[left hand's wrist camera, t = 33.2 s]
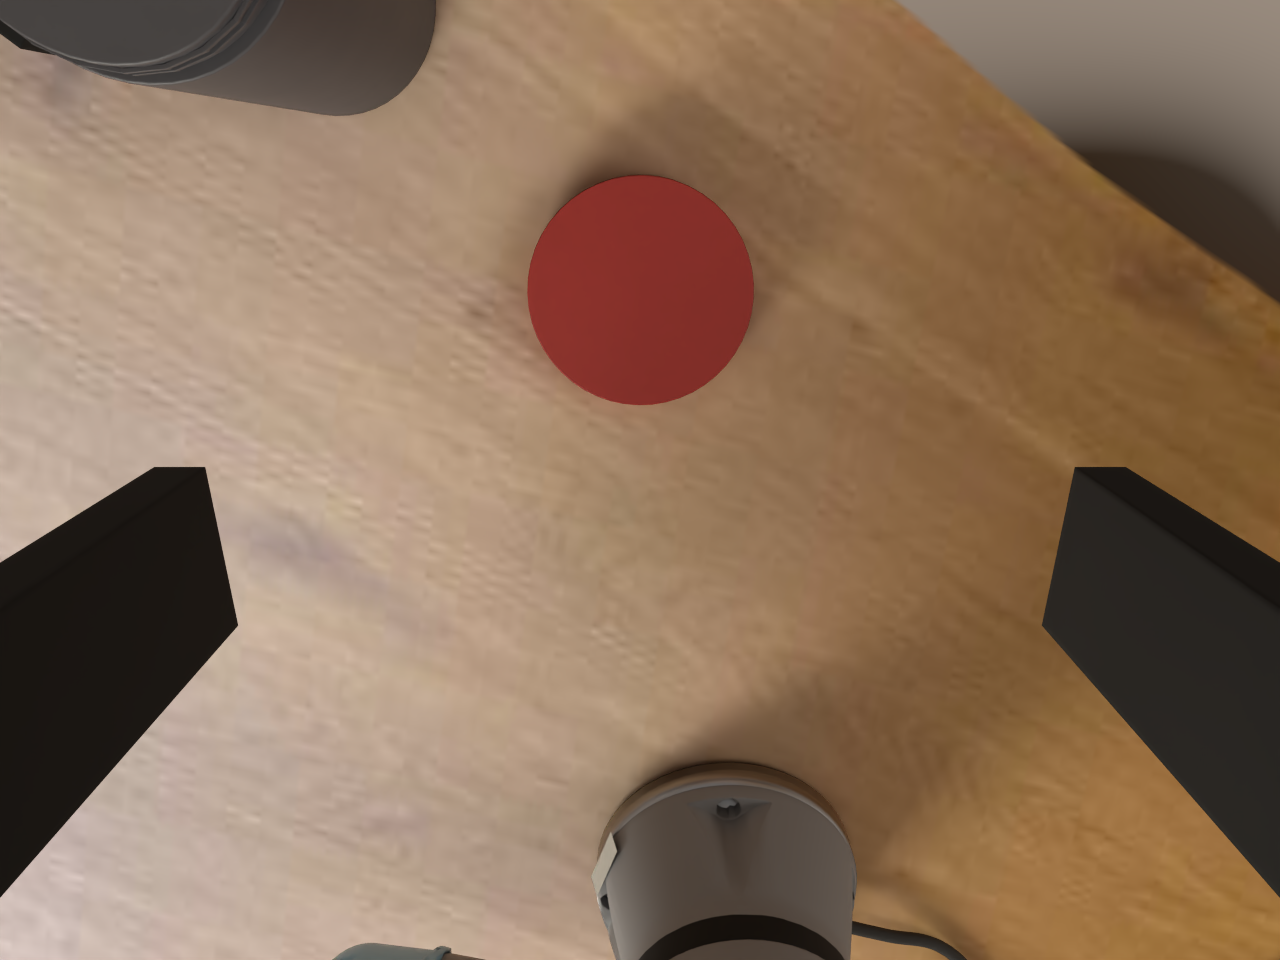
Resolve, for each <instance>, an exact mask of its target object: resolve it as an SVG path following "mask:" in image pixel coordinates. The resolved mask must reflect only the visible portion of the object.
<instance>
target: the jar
mask: <svg viewBox="0 0 1280 960" xmlns="http://www.w3.org/2000/svg"><path fill="white" fill-rule="evenodd" d="M435 14H436V0H0V20H1V21H2V22H4V23H5V24H7V25H8V26H9V27H11V28H12V29H13V30H15V31H16V32H17V33H19V34H20V35H21V36H22V37H24V38H25V39H26V40H28V41H29V42H30V43H31V44H33V45H35V46H37V47H39V48H41V49H44V50H46V51H48V52H50V53H52V54H55V55H57V56H59V57H61V58H63V59H66V60H68V61H70V62H72V63H74V64H75V65H77V66H79V67H81V68H83V69H85V70H88V71H91V72H93V73H96V74H98V75H101V76H103V77H106V78H110V79H114V80H118V81H122V82H126V83H131V84H137V85H143V86H149V87H156V88H162V89H168V90H174V91H180V92H187V93H193V94H199V95H205V96H211V97H217V98H224V99H230V100H236V101H242V102H248V103H255V104H261V105H267V106H273V107H279V108H286V109H292V110H298V111H304V112H310V113H316V114H323V115H332V116H345V115H354V114H360V113H364V112H367V111H370V110H373V109H376V108H377V107H379V106H381V105H383V104H385V103H387V102H389V101H390V100H391V99H393V98H394V97H395V96H397V95H398V94H399V93H400V92H401V91H402V90H403V89H404V88H405V87H406V86H407V85H408V84H409V83H410V82H411V80H412V79H413V78H414V76H415V75H416V74H417V72H418V70H419V69H420V67H421V65H422V63H423V61H424V59H425V57H426V54H427V52H428V49H429V47H430V43H431V39H432V35H433V31H434V23H435Z"/></svg>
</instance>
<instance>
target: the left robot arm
mask: <svg viewBox="0 0 1280 960" xmlns="http://www.w3.org/2000/svg"><path fill="white" fill-rule="evenodd" d="M237 626H238V623H237V618H236V613H235V608H234V604H233V599H232V594H231V589H230V584H229V580H228V575H227V570H226V565H225V560H224V556H223V551H222V546H221V541H220V536H219V532H218V527H217V522H216V517H215V512H214V508H213V503H212V498H211V493H210V488H209V484H208V479H207V474H206V469H205V467H154V468H152V469H150V470H149V471H147V472H146V473H144V474H142V475H141V476H139V477H138V478H136V479H134V480H133V481H131V482H130V483H128V484H126V485H125V486H123V487H121V488H120V489H118V490H117V491H115V492H113V493H112V494H110V495H109V496H107V497H105V498H104V499H102V500H101V501H99V502H97V503H96V504H94V505H92V506H91V507H89V508H88V509H86V510H84V511H83V512H81V513H80V514H78V515H76V516H75V517H73V518H72V519H70V520H68V521H67V522H65V523H63V524H62V525H60V526H59V527H57V528H55V529H54V530H52V531H51V532H49V533H47V534H46V535H44V536H43V537H41V538H39V539H38V540H36V541H34V542H33V543H31V544H30V545H28V546H26V547H25V548H23V549H22V550H20V551H18V552H17V553H15V554H14V555H12V556H10V557H9V558H7V559H5V560H4V561H2V562H1V563H0V897H1V896H2V895H3V894H4V893H5V891H6V890H7V889H8V888H9V887H10V886H11V885H12V883H13V882H14V881H15V880H16V879H17V878H18V877H19V875H20V874H21V873H22V872H23V871H24V870H25V869H26V867H27V866H28V865H29V864H30V863H31V862H32V861H33V859H34V858H35V857H36V856H37V855H38V854H39V853H40V851H41V850H42V849H43V848H44V847H45V846H46V845H47V843H48V842H49V841H50V840H51V839H52V838H53V837H54V835H55V834H56V833H57V832H58V831H59V830H60V829H61V827H62V826H63V825H64V824H65V823H66V822H67V821H68V819H69V818H70V817H71V816H72V815H73V814H74V813H75V811H76V810H77V809H78V808H79V807H80V806H81V805H82V803H83V802H84V801H85V800H86V799H87V798H88V797H89V795H90V794H91V793H92V792H93V791H94V790H95V789H96V787H97V786H98V785H99V784H100V783H101V782H102V781H103V779H104V778H105V777H106V776H107V775H108V774H109V773H110V771H111V770H112V769H113V768H114V767H115V766H116V765H117V763H118V762H119V761H120V760H121V759H122V758H123V757H124V755H125V754H126V753H127V752H128V751H129V750H130V748H131V747H132V746H133V745H134V744H135V743H136V742H137V740H138V739H139V738H140V737H141V736H142V735H143V734H144V732H145V731H146V730H147V729H148V728H149V727H150V726H151V724H152V723H153V722H154V721H155V720H156V719H157V718H158V716H159V715H160V714H161V713H162V712H163V711H164V710H165V708H166V707H167V706H168V705H169V704H170V703H171V702H172V700H173V699H174V698H175V697H176V696H177V695H178V694H179V692H180V691H181V690H182V689H183V688H184V687H185V686H186V684H187V683H188V682H189V681H190V680H191V679H192V678H193V676H194V675H195V674H196V673H197V672H198V671H199V670H200V668H201V667H202V666H203V665H204V664H205V663H206V662H207V660H208V659H209V658H210V657H211V656H212V655H213V654H214V652H215V651H216V650H217V649H218V648H219V647H220V646H221V644H222V643H223V642H224V641H225V640H226V639H227V638H228V636H229V635H230V634H231V633H232V632H233V631H234V630H235V628H236V627H237ZM1042 626H1043V627H1044V628H1045V630H1046V631H1047V632H1048V633H1049V634H1050V635H1051V636H1052V638H1053V639H1054V640H1055V641H1056V642H1057V643H1058V644H1059V646H1060V647H1061V648H1062V649H1063V650H1064V651H1065V652H1066V654H1067V655H1068V656H1069V657H1070V658H1071V659H1072V660H1073V662H1074V663H1075V664H1076V665H1077V666H1078V667H1079V668H1080V670H1081V671H1082V672H1083V673H1084V674H1085V675H1086V676H1087V678H1088V679H1089V680H1090V681H1091V682H1092V683H1093V684H1094V686H1095V687H1096V688H1097V689H1098V690H1099V691H1100V692H1101V694H1102V695H1103V696H1104V697H1105V698H1106V699H1107V700H1108V702H1109V703H1110V704H1111V705H1112V706H1113V707H1114V708H1115V710H1116V711H1117V712H1118V713H1119V714H1120V715H1121V716H1122V718H1123V719H1124V720H1125V721H1126V722H1127V723H1128V724H1129V726H1130V727H1131V728H1132V729H1133V730H1134V731H1135V732H1136V734H1137V735H1138V736H1139V737H1140V738H1141V739H1142V740H1143V742H1144V743H1145V744H1146V745H1147V746H1148V747H1149V748H1150V750H1151V751H1152V752H1153V753H1154V754H1155V755H1156V757H1157V758H1158V759H1159V760H1160V761H1161V762H1162V763H1163V765H1164V766H1165V767H1166V768H1167V769H1168V770H1169V771H1170V773H1171V774H1172V775H1173V776H1174V777H1175V778H1176V779H1177V781H1178V782H1179V783H1180V784H1181V785H1182V786H1183V787H1184V789H1185V790H1186V791H1187V792H1188V793H1189V794H1190V795H1191V797H1192V798H1193V799H1194V800H1195V801H1196V802H1197V803H1198V805H1199V806H1200V807H1201V808H1202V809H1203V810H1204V811H1205V813H1206V814H1207V815H1208V816H1209V817H1210V818H1211V819H1212V821H1213V822H1214V823H1215V824H1216V825H1217V826H1218V827H1219V829H1220V830H1221V831H1222V832H1223V833H1224V834H1225V835H1226V837H1227V838H1228V839H1229V840H1230V841H1231V842H1232V843H1233V845H1234V846H1235V847H1236V848H1237V849H1238V850H1239V851H1240V853H1241V854H1242V855H1243V856H1244V857H1245V858H1246V859H1247V861H1248V862H1249V863H1250V864H1251V865H1252V866H1253V867H1254V869H1255V870H1256V871H1257V872H1258V873H1259V874H1260V875H1261V877H1262V878H1263V879H1264V880H1265V881H1266V882H1267V883H1268V885H1269V886H1270V887H1271V888H1272V889H1273V890H1274V891H1275V893H1276V894H1277V895H1278V896H1279V897H1280V563H1279V562H1278V561H1276V560H1275V559H1273V558H1271V557H1270V556H1268V555H1266V554H1265V553H1263V552H1262V551H1260V550H1258V549H1257V548H1255V547H1254V546H1252V545H1250V544H1249V543H1247V542H1246V541H1244V540H1242V539H1241V538H1239V537H1237V536H1236V535H1234V534H1233V533H1231V532H1229V531H1228V530H1226V529H1225V528H1223V527H1221V526H1220V525H1218V524H1217V523H1215V522H1213V521H1212V520H1210V519H1208V518H1207V517H1205V516H1204V515H1202V514H1200V513H1199V512H1197V511H1196V510H1194V509H1192V508H1191V507H1189V506H1188V505H1186V504H1184V503H1183V502H1181V501H1179V500H1178V499H1176V498H1175V497H1173V496H1171V495H1170V494H1168V493H1167V492H1165V491H1163V490H1162V489H1160V488H1159V487H1157V486H1155V485H1154V484H1152V483H1150V482H1149V481H1147V480H1146V479H1144V478H1142V477H1141V476H1139V475H1138V474H1136V473H1134V472H1133V471H1131V470H1130V469H1128V468H1126V467H1075V469H1074V474H1073V479H1072V484H1071V488H1070V493H1069V498H1068V503H1067V508H1066V512H1065V517H1064V522H1063V527H1062V532H1061V536H1060V541H1059V546H1058V551H1057V556H1056V560H1055V565H1054V570H1053V575H1052V580H1051V584H1050V589H1049V594H1048V599H1047V604H1046V608H1045V613H1044V618H1043V623H1042ZM591 878H592V881H593V885H594V889H595V892H596V896H597V901H598V904H599V908H600V911H601V914H602V918H603V920H604V923H605V926H606V928H607V930H608V934H609V938H610V942H611V945H612V949H613V952H614V955H615V958H616V960H850V953H851V935H852V934H854V935H858V936H862V937H867V938H871V939H876V940H880V941H885V942H890V943H895V944H903V945H913V946H920V947H925V948H929V949H932V950H935V951H937V952H938V953H940V954H942V955H944V956H945V957H947V958H948V959H949V960H967V959H966V958H965V957H964V956H963V955H961V954H960V953H959V952H958V951H957V950H955V949H954V948H953V947H951V946H950V945H948V944H946V943H945V942H943V941H941V940H939V939H937V938H934V937H931V936H928V935H925V934H920V933H913V932H904V931H896V930H890V929H885V928H881V927H876V926H872V925H867V924H863V923H859V922H855V921H852V911H853V908H854V900H855V894H856V884H857V873H856V864H855V860H854V856H853V853H852V850H851V846H850V843H849V840H848V837H847V833H846V831H845V828H844V826H843V823H842V821H841V820H840V818H839V816H838V814H837V813H836V811H835V810H834V809H833V807H832V806H831V805H830V804H829V803H828V802H827V800H826V799H825V798H824V797H822V796H821V795H820V794H819V793H818V792H817V791H815V790H814V789H813V788H811V787H810V786H809V785H807V784H805V783H804V782H802V781H800V780H799V779H797V778H794V777H792V776H790V775H788V774H786V773H783V772H780V771H777V770H774V769H770V768H767V767H763V766H757V765H752V764H742V763H713V764H705V765H698V766H694V767H689V768H685V769H682V770H679V771H675V772H673V773H670V774H668V775H665V776H663V777H660V778H659V779H657V780H655V781H653V782H651V783H649V784H647V785H646V786H644V787H643V788H641V789H640V790H638V791H637V792H636V793H634V794H633V795H632V796H631V797H630V798H628V799H627V800H626V801H625V802H624V803H623V804H622V805H621V806H620V808H619V809H618V810H617V811H616V812H615V814H614V815H613V816H612V818H611V819H610V821H609V823H608V825H607V826H606V828H605V830H604V833H603V835H602V838H601V841H600V845H599V849H598V857H597V864H596V867H595V869H594V871H593V873H592V876H591ZM333 960H484V959H478V958H473V957H468V956H462V955H457V954H452V953H451V948H448V947H445V946H440V947H437V948H436V949H434V950H428V949H419V948H411V947H402V946H394V945H386V944H378V943H365V944H360V945H356V946H353V947H351V948H349V949H347V950H345V951H344V952H342V953H341V954H339V955H338V956H337V957H335V958H334V959H333Z"/></svg>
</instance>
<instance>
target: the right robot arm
mask: <svg viewBox="0 0 1280 960" xmlns="http://www.w3.org/2000/svg"><path fill="white" fill-rule="evenodd" d="M0 34H1V35H3V36H4V37H5V38H7V39H8V40H9V41H11V42H12V43H14V44H15V45H16V46H18V47H19V48H20V49H26V50H31V51H36V52H41V53H47V54H52V53H50V52H48V51H46V50H44V49H41V48H39V47H37V46H35V45H33V44H31V43H30V42H29V41H28V40H26V39H25V38H24V37H22V36H21V35H20V34H19V33H17V32H16V31H15V30H13V29H12V28H11V27H9V26H8V25H7V24H5V23H4V22H2V21H1V20H0ZM52 55H55V54H52Z"/></svg>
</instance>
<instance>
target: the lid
mask: <svg viewBox="0 0 1280 960" xmlns="http://www.w3.org/2000/svg"><path fill="white" fill-rule="evenodd" d="M753 299H754V282H753V274H752V267H751V263H750V259H749V255H748V252H747V250H746V247H745V245H744V242H743V240H742V238H741V236H740V234H739V233H738V231H737V229H736V227H735V226H734V224H733V223H732V222H731V221H730V219H729V218H728V217H727V215H726V214H725V213H724V212H723V211H722V210H721V209H720V208H719V207H718V206H717V205H716V204H715V203H714V202H713V201H711V200H710V199H709V198H707V197H706V196H705V195H703V194H702V193H700V192H699V191H697V190H695V189H693V188H691V187H690V186H688V185H685V184H683V183H680V182H678V181H675V180H672V179H668V178H664V177H660V176H652V175H628V176H622V177H617V178H613V179H610V180H607V181H604V182H601V183H598V184H596V185H594V186H592V187H590V188H588V189H586V190H584V191H583V192H581V193H580V194H578V195H577V196H575V197H574V198H572V199H571V200H570V201H569V202H568V203H567V204H565V205H564V206H563V207H562V208H561V209H560V210H559V211H558V212H557V214H556V215H555V216H554V217H553V218H552V219H551V221H550V222H549V224H548V225H547V227H546V228H545V230H544V231H543V233H542V235H541V237H540V239H539V241H538V243H537V245H536V248H535V250H534V254H533V257H532V260H531V264H530V270H529V276H528V304H529V311H530V316H531V320H532V324H533V327H534V329H535V332H536V335H537V337H538V339H539V341H540V343H541V345H542V347H543V349H544V351H545V352H546V354H547V355H548V357H549V358H550V359H551V361H552V362H553V363H554V364H555V366H556V367H557V368H558V369H559V370H560V371H561V372H562V373H563V374H564V375H565V376H566V377H567V378H569V379H570V380H571V381H572V382H573V383H575V384H576V385H578V386H579V387H581V388H582V389H584V390H586V391H588V392H590V393H592V394H594V395H596V396H598V397H601V398H604V399H606V400H609V401H613V402H618V403H622V404H632V405H652V404H658V403H664V402H668V401H671V400H675V399H678V398H681V397H683V396H685V395H688V394H690V393H692V392H694V391H695V390H697V389H699V388H700V387H702V386H704V385H705V384H706V383H708V382H709V381H710V380H711V379H713V378H714V377H715V376H716V375H717V374H718V373H719V372H720V371H721V370H722V369H723V368H724V367H725V366H726V365H727V364H728V362H729V361H730V360H731V358H732V357H733V356H734V354H735V353H736V351H737V349H738V347H739V346H740V344H741V342H742V340H743V338H744V335H745V333H746V330H747V328H748V324H749V321H750V317H751V313H752V306H753Z"/></svg>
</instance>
